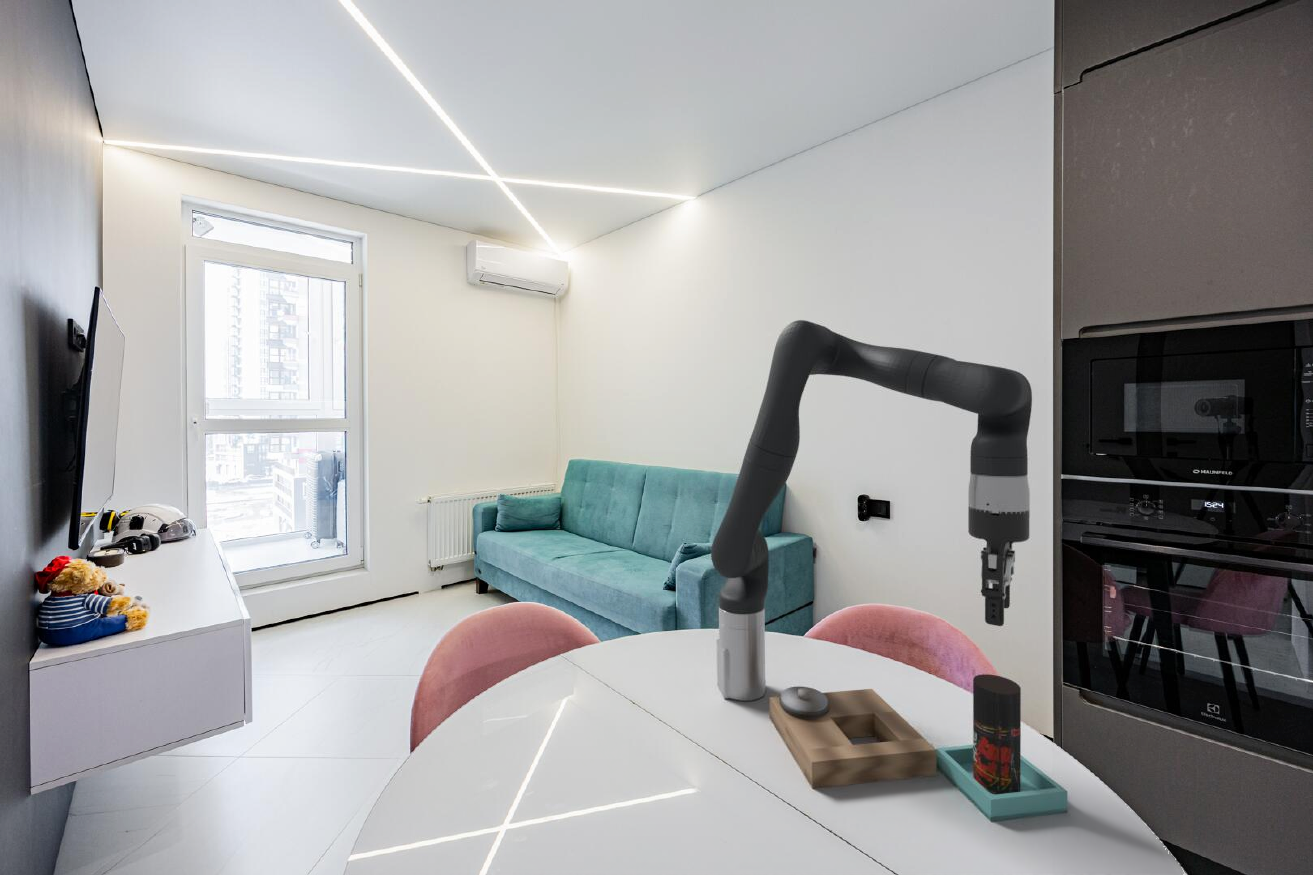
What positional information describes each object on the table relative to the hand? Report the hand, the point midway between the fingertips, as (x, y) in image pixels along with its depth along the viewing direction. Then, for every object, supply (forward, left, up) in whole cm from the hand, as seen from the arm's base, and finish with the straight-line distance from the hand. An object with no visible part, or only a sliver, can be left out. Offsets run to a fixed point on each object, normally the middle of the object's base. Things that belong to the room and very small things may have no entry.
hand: (997, 615), depth 78 cm
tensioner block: (-17, +14, -26) cm, 34 cm away
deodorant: (0, 0, -26) cm, 26 cm away
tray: (0, 0, -26) cm, 26 cm away
